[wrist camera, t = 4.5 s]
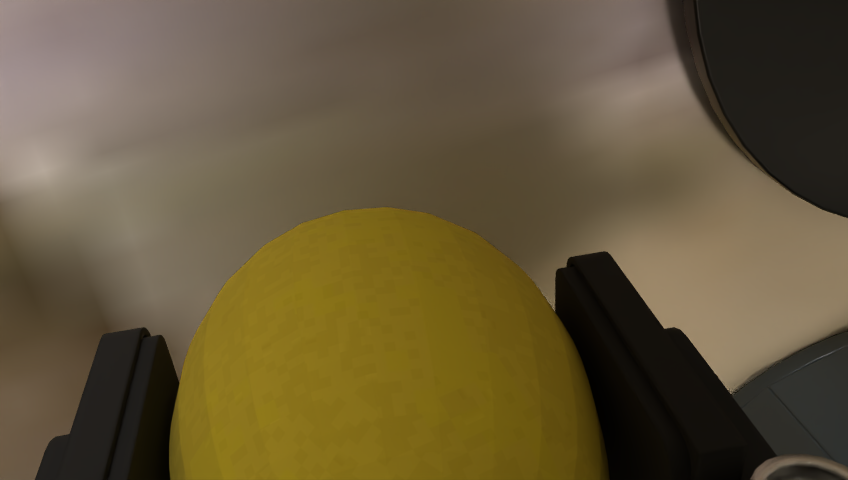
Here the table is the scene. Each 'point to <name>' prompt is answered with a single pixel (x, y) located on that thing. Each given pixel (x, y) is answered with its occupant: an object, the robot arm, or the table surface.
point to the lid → (780, 87)
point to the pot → (803, 402)
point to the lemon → (383, 363)
